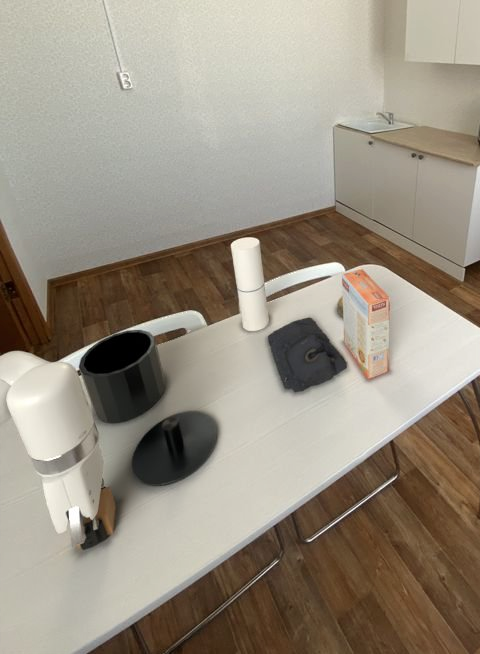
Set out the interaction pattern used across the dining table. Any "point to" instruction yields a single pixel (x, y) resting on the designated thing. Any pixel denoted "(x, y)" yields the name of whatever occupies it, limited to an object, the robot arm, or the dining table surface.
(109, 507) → the cube
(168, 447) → the bin lid
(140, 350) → the trash can
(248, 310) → the cylindrical container
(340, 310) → the cake
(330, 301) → the dining table surface
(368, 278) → the cracker box
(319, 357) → the black fabric pouch
